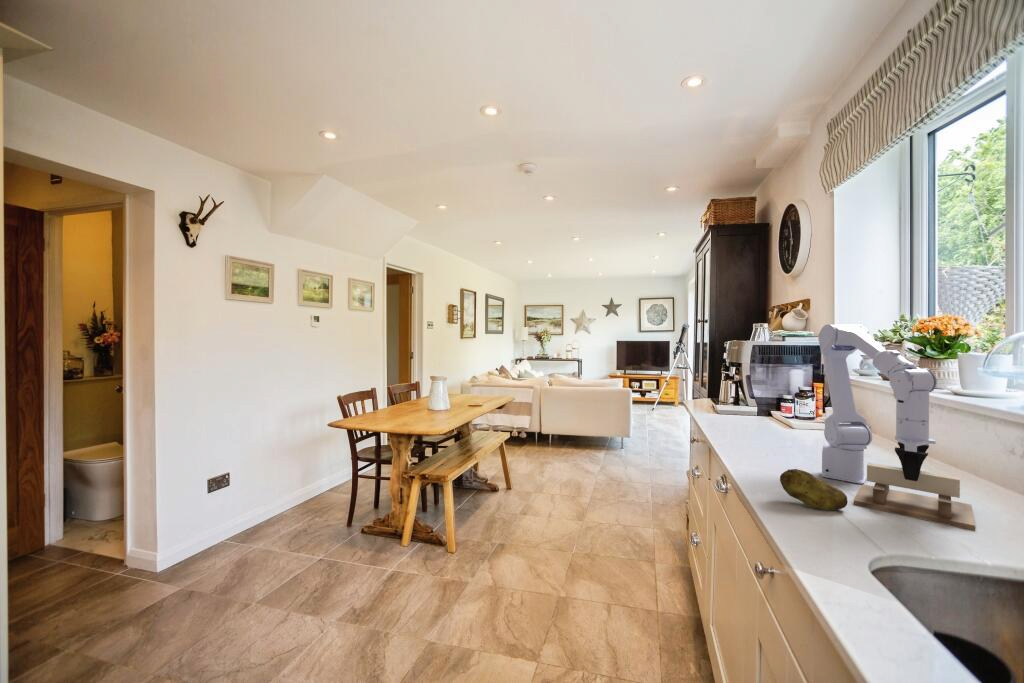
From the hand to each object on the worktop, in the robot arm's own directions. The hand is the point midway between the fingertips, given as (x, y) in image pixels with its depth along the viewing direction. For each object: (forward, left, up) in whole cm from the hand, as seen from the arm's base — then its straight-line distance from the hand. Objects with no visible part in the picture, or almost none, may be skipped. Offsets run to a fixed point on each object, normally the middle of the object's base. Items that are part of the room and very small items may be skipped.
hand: (911, 476), depth 102 cm
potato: (-17, -16, -8) cm, 24 cm away
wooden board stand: (0, 0, -7) cm, 7 cm away
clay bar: (0, 0, -3) cm, 3 cm away
